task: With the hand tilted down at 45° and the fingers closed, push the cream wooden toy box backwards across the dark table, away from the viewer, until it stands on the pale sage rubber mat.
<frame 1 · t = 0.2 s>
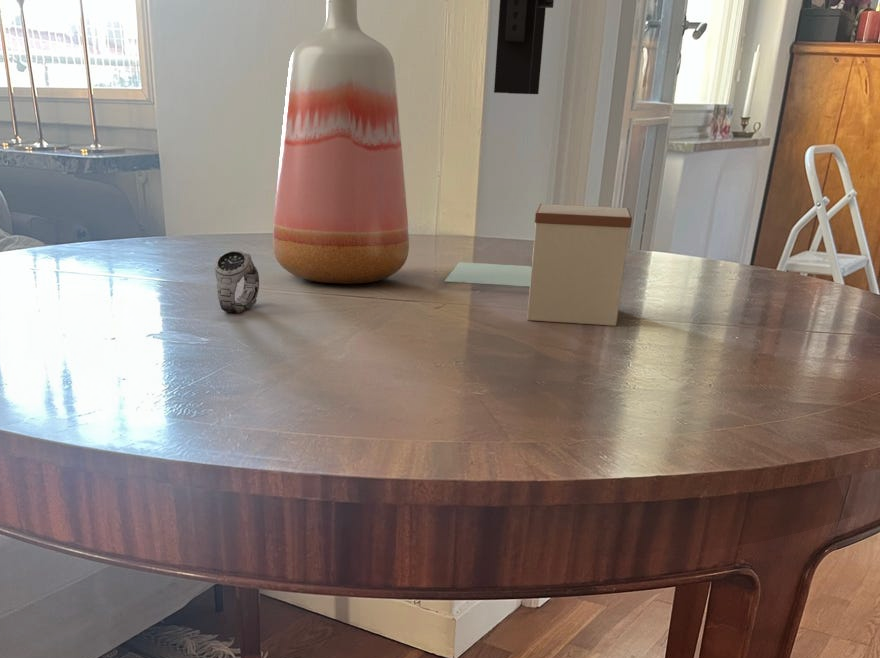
hand: (517, 94, 80), 18 cm above the table, tool pointing down, fingers open, 13 cm apart
mat: (530, 277, 108), on the table
toy box: (571, 314, 89), on the table
wristwatch: (241, 310, 88), on the table
vase: (341, 280, 103), on the table
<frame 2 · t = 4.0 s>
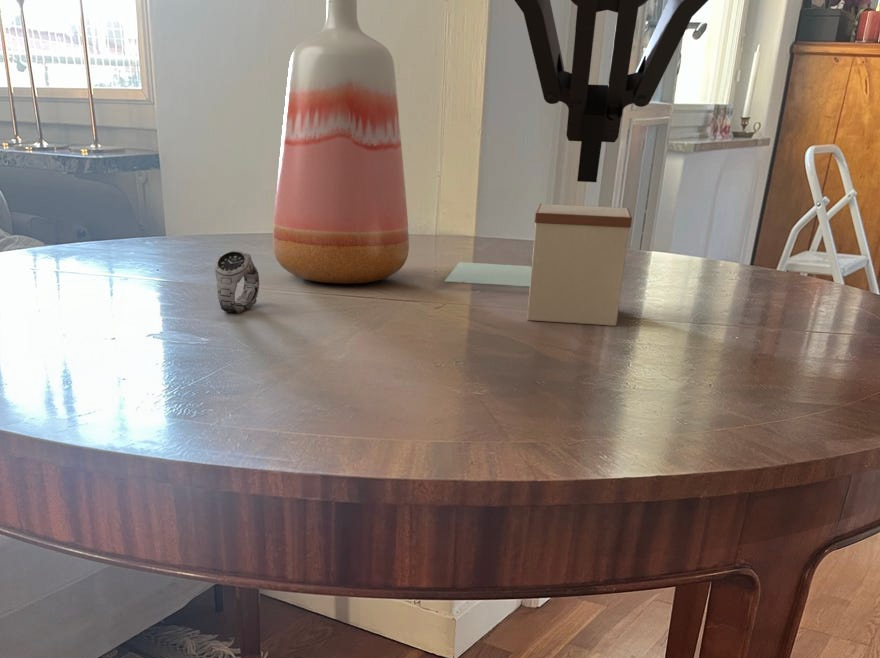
hand: (588, 167, 74), 13 cm above the table, tool tilted 45°, fingers closed
nothing on the table moved.
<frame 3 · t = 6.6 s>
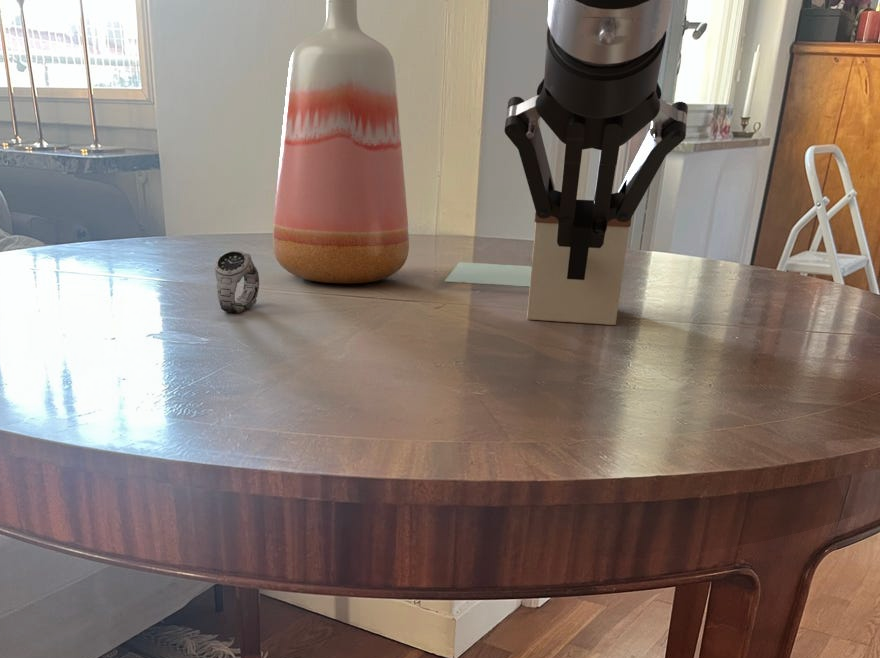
hand: (577, 266, 83), 5 cm above the table, tool tilted 45°, fingers closed
toy box: (571, 314, 90), on the table, touching gripper
everything else where it was.
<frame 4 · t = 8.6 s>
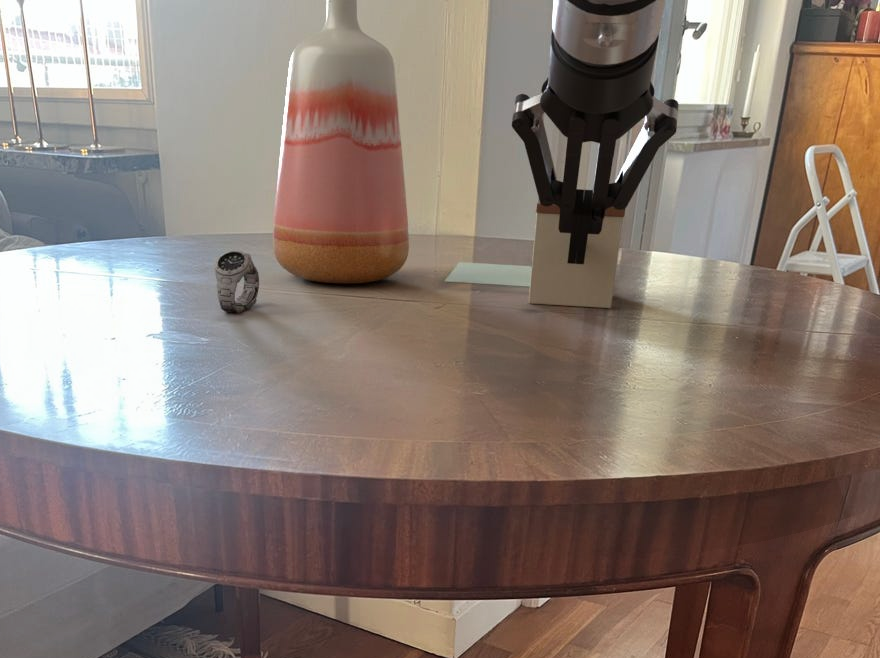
hand: (576, 251, 89), 5 cm above the table, tool tilted 45°, fingers closed
toy box: (569, 298, 96), on the table, touching gripper
everything else where it was.
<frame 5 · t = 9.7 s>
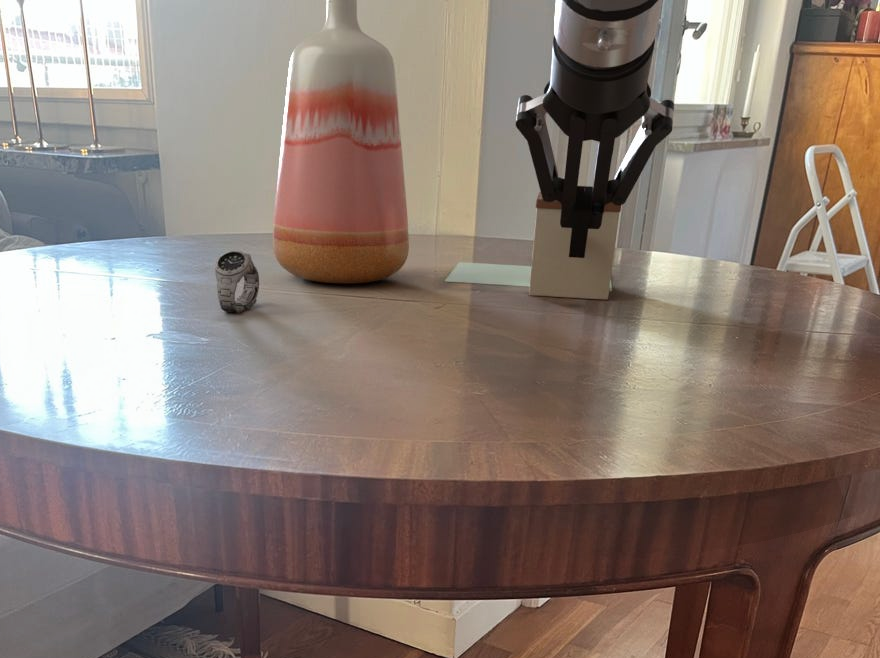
hand: (577, 245, 93), 5 cm above the table, tool tilted 45°, fingers closed
toy box: (568, 290, 100), on the table, touching gripper
everything else where it was.
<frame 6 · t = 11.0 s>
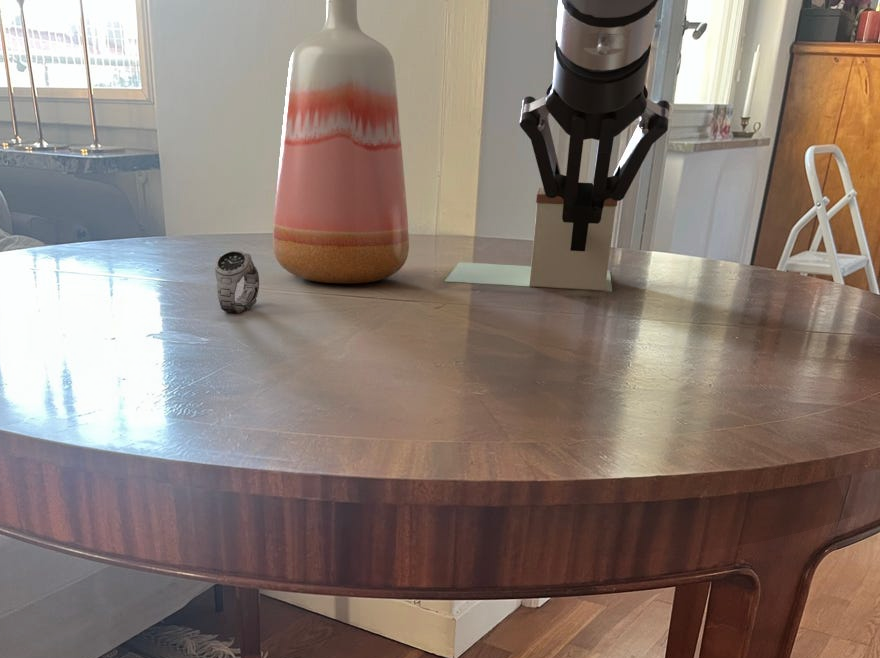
hand: (578, 239, 98), 5 cm above the table, tool tilted 45°, fingers closed
toy box: (567, 282, 105), on the table, touching gripper, mat
everything else where it was.
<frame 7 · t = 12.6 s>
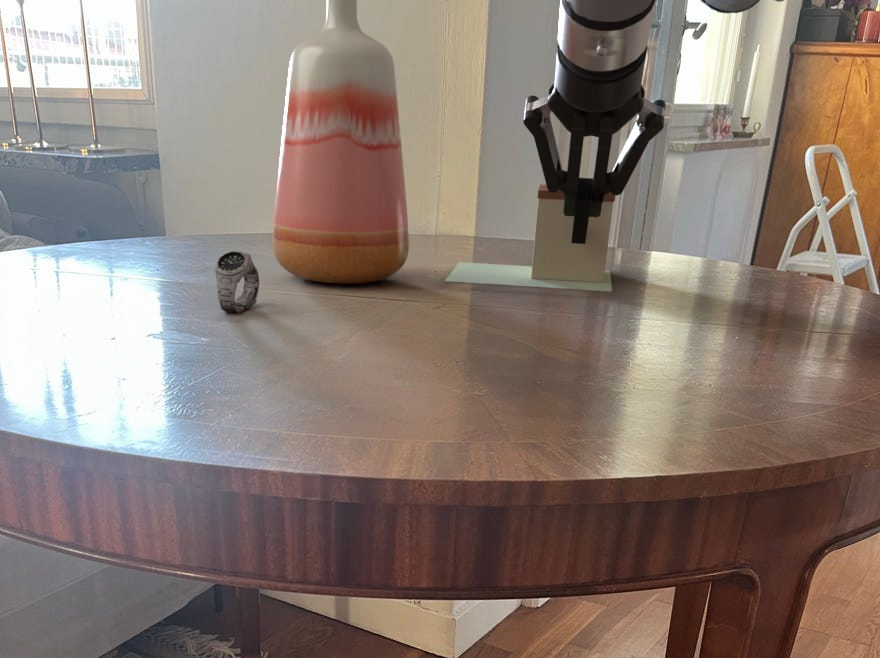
hand: (579, 232, 102), 5 cm above the table, tool tilted 45°, fingers closed
toy box: (566, 274, 109), on the table, touching gripper, mat
everything else where it was.
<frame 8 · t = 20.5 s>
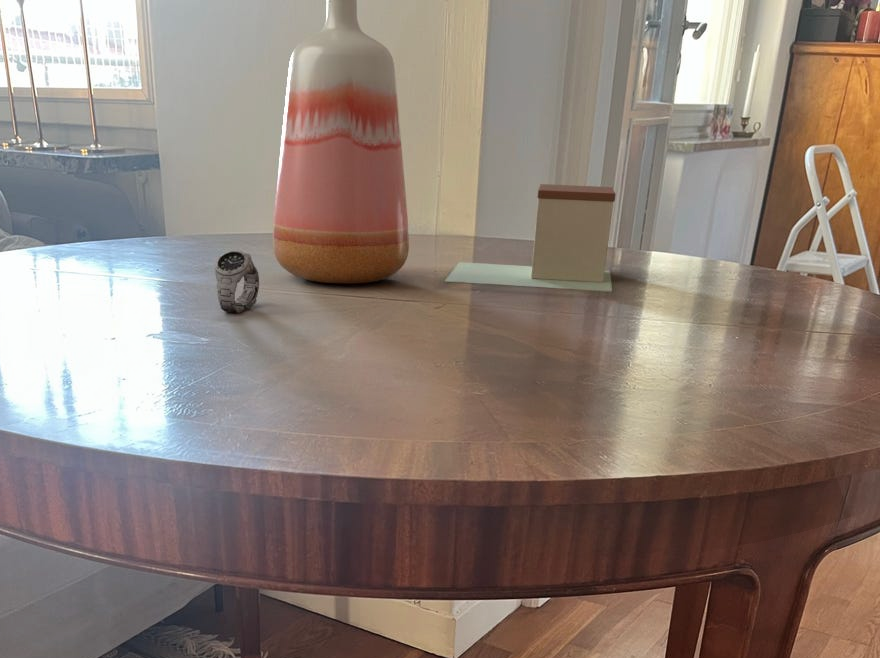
toy box: (566, 274, 109), on the table, touching mat
everything else where it was.
at the end: toy box inside the target area on the mat (4.5 cm from its centre), point 0.2 cm above the mat's base; toy box tilted 0°; toy box moved 23.1 cm from its start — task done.
